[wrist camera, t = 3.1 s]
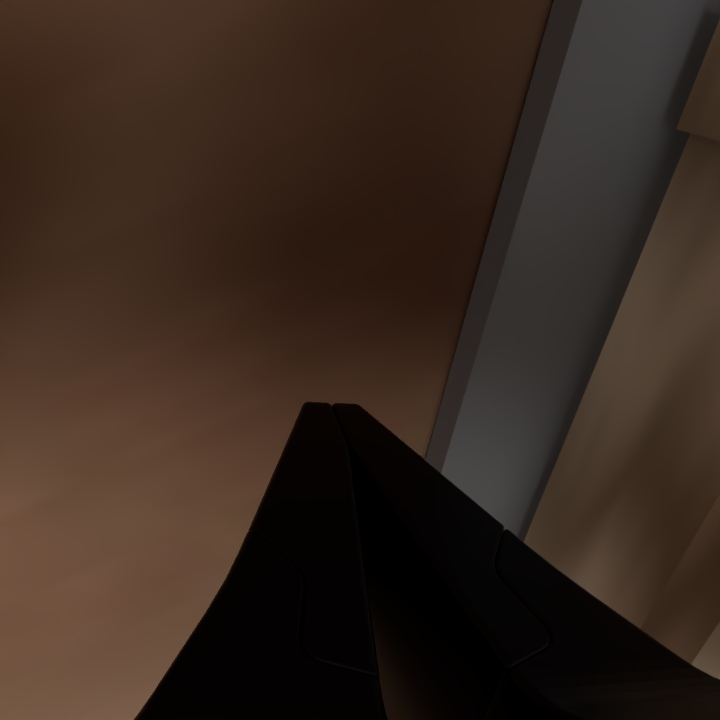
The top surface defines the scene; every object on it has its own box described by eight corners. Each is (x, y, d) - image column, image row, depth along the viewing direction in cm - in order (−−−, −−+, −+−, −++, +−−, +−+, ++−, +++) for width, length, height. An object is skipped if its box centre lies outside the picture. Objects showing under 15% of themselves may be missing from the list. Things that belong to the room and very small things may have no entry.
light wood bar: (522, 659, 17) (618, 872, 13) (464, 663, 17) (542, 885, 13) (816, 29, 10) (1262, 48, 6) (724, 7, 9) (1132, 8, 5)
